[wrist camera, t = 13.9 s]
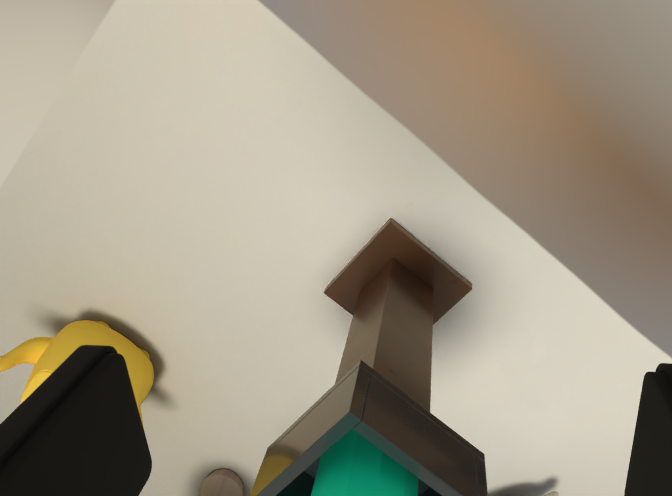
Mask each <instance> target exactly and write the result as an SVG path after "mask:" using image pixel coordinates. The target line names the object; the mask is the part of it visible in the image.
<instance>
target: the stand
mask: <svg viewBox="0 0 672 496" xmlns="http://www.w3.org/2000/svg"><path fill="white" fill-rule="evenodd" d="M471 290H472V284H471V283H470V282H469V281H467V280H466V279H465V278H464V277H463V276H461V275H460V274H459V273H458V272H456V271H455V270H454V269H453V268H452V267H450V266H449V265H448V264H447V263H445V262H444V261H443V260H442V259H441V258H439V257H438V256H437V255H436V254H434V253H433V252H432V251H431V250H430V249H428V248H427V247H426V246H425V245H423V244H422V243H421V242H420V241H419V240H417V239H416V238H415V237H414V236H412V235H411V234H410V233H409V232H408V231H406V230H405V229H404V228H403V227H401V226H400V225H399V224H398V223H397V222H395V221H394V220H393V219H392V218H391V219H390V220H389V221H388V222H387V223H386V224H385V225H384V226H383V227H382V228H381V229H380V230H379V231H378V232H377V233H376V235H375V236H374V237H373V238H372V239H371V240H370V241H369V242H368V243H367V244H366V245H365V246H364V247H363V249H362V250H361V251H360V252H359V253H358V254H357V255H356V256H355V257H354V258H353V259H352V260H351V261H350V262H349V264H348V265H347V266H346V267H345V268H344V269H343V270H342V271H341V272H340V273H339V274H338V275H337V276H336V278H335V279H334V280H333V281H332V282H331V283H330V284H329V285H328V286H327V287H326V289H325V291H324V293H325V294H326V295H327V296H329V297H330V298H331V299H333V300H334V301H335V302H336V303H338V304H339V305H340V306H342V307H343V308H344V309H345V310H347V311H348V312H349V313H351V314H352V315H353V319H352V323H351V326H350V330H349V334H348V337H347V341H346V345H345V348H344V352H343V356H342V360H341V363H340V367H339V371H338V374H337V378H336V382H335V384H336V383H337V382H338V381H339V380H340V379H341V378H342V377H343V376H344V375H345V374H346V373H347V372H348V371H349V370H351V369H352V368H353V367H354V366H355V365H356V364H357V363H358V362H359V361H360V360H362V361H363V362H365V363H366V364H367V365H369V366H370V367H371V368H373V369H374V370H375V371H376V372H378V373H379V374H380V375H382V376H383V377H384V378H386V379H387V380H388V381H389V382H391V383H392V384H393V385H395V386H396V387H397V388H399V389H400V390H401V391H403V392H404V393H405V394H406V395H408V396H409V397H410V398H412V399H413V400H414V401H416V402H417V403H418V404H419V405H421V406H422V407H423V408H425V409H426V410H427V411H429V412H430V397H431V361H432V326H433V324H434V323H435V322H437V321H438V320H439V319H440V318H441V317H442V316H443V315H444V314H445V313H446V312H447V311H449V310H450V309H451V308H452V307H453V306H454V305H455V304H456V303H457V302H458V301H460V300H461V299H462V298H463V297H464V296H465V295H466V294H467V293H468V292H469V291H471Z"/></svg>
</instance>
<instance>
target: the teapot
mask: <svg viewBox="0 0 672 496" xmlns="http://www.w3.org/2000/svg"><path fill="white" fill-rule="evenodd" d="M82 345H105V346H112V347H114V348H115V349H116V350H117V353H119V354H122V356H123V357H124V359H125V362H126V365H127V369H128V373H129V377H130V380H131V384H132V388H133V392H134V395H135V399H136V403H137V407H138V410H139V414H140V418H141V422H142V425H143V421H142V415H141V409H140V405H141V404H142V402H143V401H144V400H145V398H146V396H147V395H148V393H149V391H150V389H151V387H152V385H153V381H154V370H153V366H152V363H151V362H150V356H149V354H148V353H147V352H146V351H145V350H143V349H139V348H138V347H136V346H135V345H134V344H133V343H132V342H131V341H130V340H128V339H127V338H126V337H124V336H123V335H121V334H119V333H118V332H116V331H114V330H112V329H110V327H109V325H108V324H106V323H105V322H102V321H97V322H94V321H90V320H82V321H76V322H72V323H70V324H68V325H66V326H65V327H64V328H63V329H62V330H61V331H60V332H59V333H58V334H57V335H56V336H55V338H48V337H38V338H34V339H30V340H28V341H26V342H24V343H22V344H21V345H19V346H18V347H16V348H15V349H13V350H12V351H10V352H9V353H7V354H5V355H4V356H1V357H0V372H1V371H5V370H7V369H9V368H11V367H13V366H15V365H17V364H21V363H31V364H36V365H35V366H34V369H33V371H32V373H31V375H30V377H29V380H28V382H27V385H26V388H25V390H24V393H23V395H22V399H21V403H22V402H23V401H25V400H26V399H27V398H28V397H29V396H30V395H31V394H32V393H33V392H34V391H35V390H36V389H37V388H38V387H39V386H40V385H41V384H42V383H43V382H44V381H45V380H46V379H47V378H48V377H49V376H50V375H51V374H52V373H53V372H54V371H55V370H56V369H57V368H58V367H59V366H60V365H61V364H62V363H63V362H64V361H65V360H66V359H67V358H68V357H69V356H70V355H71V354H72V353H73V352H74V351H75V350H76V349H77V348H78V347H80V346H82Z"/></svg>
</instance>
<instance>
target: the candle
mask: <svg viewBox="0 0 672 496" xmlns="http://www.w3.org/2000/svg"><path fill="white" fill-rule="evenodd" d="M418 479H419V478H417V477H416V476H415V475H413V474H412V473H411V472H409V471H408V470H407V469H405V468H404V467H403V466H401V465H400V464H398V463H397V462H396V461H394V460H393V459H392V458H390V457H389V456H388V455H386V454H385V453H384V452H382V451H381V450H380V449H378V448H377V447H376V446H374V445H373V444H372V443H370V442H369V441H368V440H366V439H365V438H364V437H362V436H361V435H360V434H358V433H357V432H355V431H354V430H353V428H352V429H351V430H350V431H349V432H348V433H347V434H345V435H344V436H343V437H342V438H341V439H340V440H339V441H337V442H336V443H335V444H334V445H333V446H332V447H331V448H330V449H328V450H327V451H326V452H325V453H324V454H323V455H322V456H321V458H320V462H319V466H318V469H317V473H316V477H315V481H314V485H313V489H312V493H311V496H418Z"/></svg>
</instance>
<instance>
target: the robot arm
mask: <svg viewBox="0 0 672 496" xmlns="http://www.w3.org/2000/svg"><path fill="white" fill-rule="evenodd" d="M151 468H152V460H151V455H150V452H149V448H148V444H147V440H146V437H145V433H144V429H143V425H142V422H141V418H140V414H139V410H138V407H137V403H136V399H135V395H134V392H133V388H132V384H131V380H130V377H129V373H128V369H127V365H126V362H125V359H124V357H123V356H122V354H119V353H117V350H116V349H115V348H114V347H112V346H105V345H82V346H80V347H78V348H77V349H76V350H75V351H74V352H73V353H72V354H71V355H70V356H69V357H68V358H67V359H66V360H65V361H64V362H63V363H62V364H61V365H60V366H59V367H58V368H57V369H56V370H55V371H54V372H53V373H52V374H51V375H50V376H49V377H48V378H47V379H46V380H45V381H44V382H43V383H42V384H41V385H40V386H39V387H38V388H37V389H36V390H35V391H34V392H33V393H32V394H31V395H30V396H29V397H28V398H27V399H26V400H25V401H23V402H22V403H21V404H20V405H19V406H18V407H17V408H16V409H15V410H14V411H13V412H12V413H11V414H10V415H9V416H8V417H7V418H6V419H5V420H4V421H3V422H2V423H1V424H0V496H138V495H139V494H140V492H141V490H142V489H143V487H144V485H145V484H146V482H147V480H148V478H149V476H150V473H151ZM624 496H672V364H665V363H661V364H659V365H658V367H657V369H656V372H647V373H646V374H645V376H644V380H643V386H642V392H641V398H640V404H639V410H638V416H637V422H636V428H635V434H634V440H633V446H632V452H631V458H630V464H629V470H628V475H627V481H626V487H625V495H624Z"/></svg>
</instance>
